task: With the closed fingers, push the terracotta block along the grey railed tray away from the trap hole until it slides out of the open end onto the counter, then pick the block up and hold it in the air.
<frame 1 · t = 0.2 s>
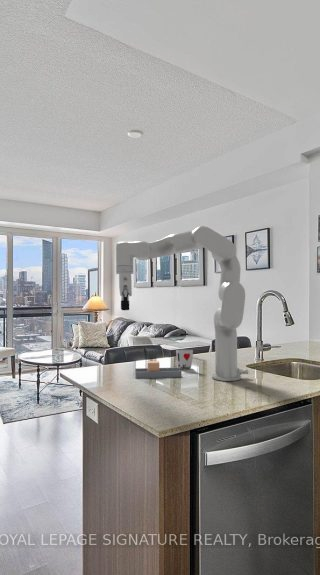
hand: (124, 309, 163), 31 cm above the countertop, tool pointing down, fingers open, 9 cm apart
block: (153, 375, 167), point 1 cm above the countertop, touching grey railed tray
cup: (184, 371, 183), on the countertop
grey railed tray: (157, 378, 168), on the countertop
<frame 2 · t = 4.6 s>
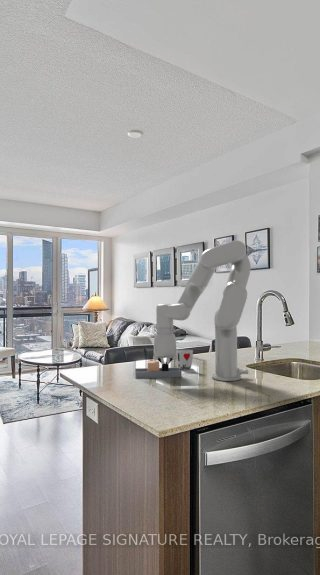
hand: (165, 372, 168), 2 cm above the countertop, tool pointing down, fingers closed
block: (153, 375, 167), point 1 cm above the countertop, touching gripper, grey railed tray
everything else where it was.
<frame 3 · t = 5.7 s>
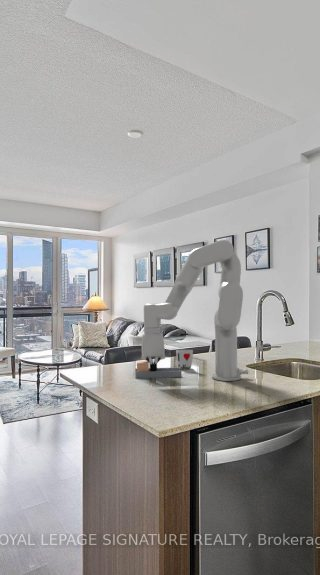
hand: (153, 372, 167), 3 cm above the countertop, tool pointing down, fingers closed
block: (142, 375, 167), point 1 cm above the countertop, touching gripper, grey railed tray
everything else where it was.
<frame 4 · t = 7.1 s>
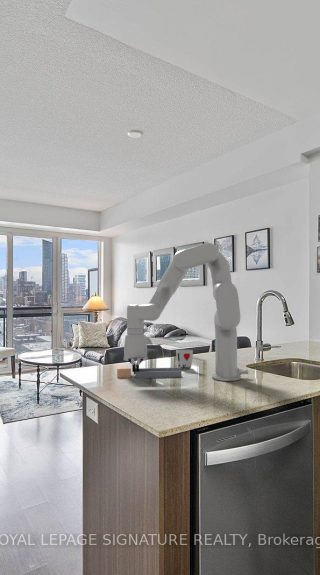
hand: (135, 373, 167), 2 cm above the countertop, tool pointing down, fingers closed
block: (130, 373, 167), point 2 cm above the countertop, tilted 90°, touching gripper
everything else where it was.
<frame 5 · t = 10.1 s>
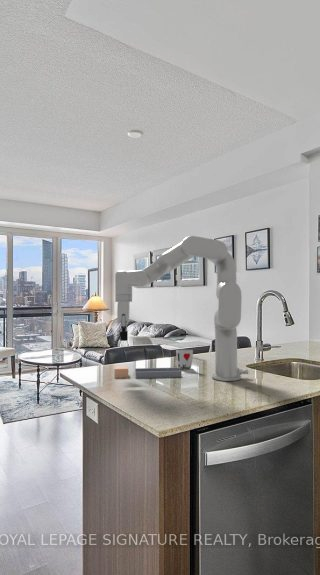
hand: (123, 339, 167), 17 cm above the countertop, tool pointing down, fingers open, 3 cm apart
block: (128, 373, 167), point 2 cm above the countertop, tilted 90°
everything else where it was.
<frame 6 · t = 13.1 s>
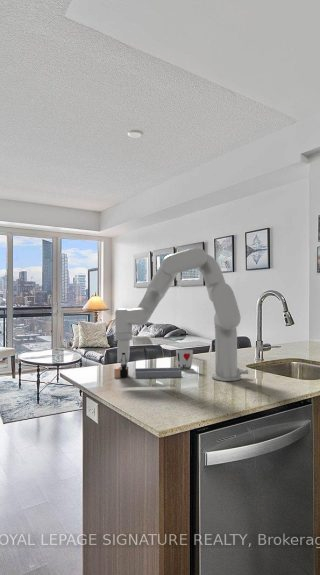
hand: (124, 377, 166), 1 cm above the countertop, tool pointing down, fingers closed on block, 5 cm apart
block: (128, 373, 167), point 2 cm above the countertop, tilted 90°, touching gripper
everything else where it was.
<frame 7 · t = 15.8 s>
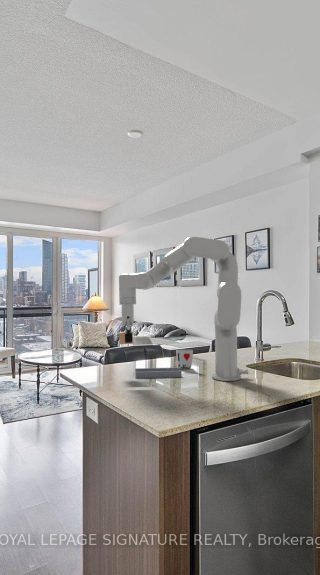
hand: (128, 341, 169), 16 cm above the countertop, tool pointing down, fingers closed on block, 5 cm apart
block: (132, 337, 169), point 18 cm above the countertop, tilted 91°, touching gripper
everything else where it was.
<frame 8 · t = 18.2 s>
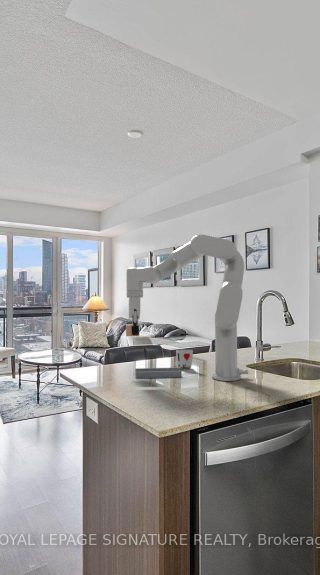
hand: (135, 333, 172), 19 cm above the countertop, tool pointing down, fingers closed on block, 5 cm apart
block: (139, 330, 172), point 21 cm above the countertop, tilted 90°, touching gripper
everything else where it was.
at the end: the gripper is holding block; block point 21.0 cm above the countertop; block moved 21.3 cm from its start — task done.
